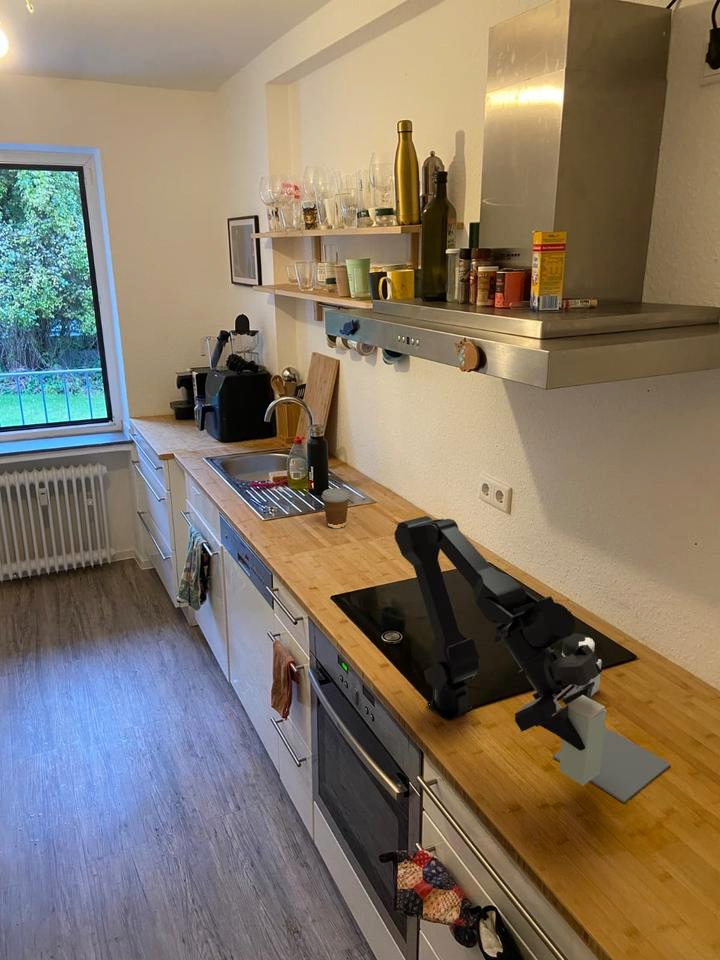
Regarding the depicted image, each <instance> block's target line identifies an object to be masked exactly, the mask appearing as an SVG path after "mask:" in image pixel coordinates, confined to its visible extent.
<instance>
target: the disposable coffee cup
mask: <svg viewBox="0 0 720 960" xmlns="http://www.w3.org/2000/svg"><path fill="white" fill-rule="evenodd" d="M350 498H351V495H350V492H349V490H347V489H345V488H339V487H338V488H337V487H335V488H333V487H332V488H329V489H325V490H324V491H322V494H321V499H322V500H323V501H322V502H323V506H324V513H325V519H326V524H327V523H329V524H333V525H338V524H343V523H345V522H346V523H347V518H348V508H349V507H348V506H349V499H350Z"/></svg>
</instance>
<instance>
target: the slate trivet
mask: <svg viewBox="0 0 720 960" xmlns="http://www.w3.org/2000/svg"><path fill="white" fill-rule="evenodd" d="M552 758H553V759H555V760H556V761H557V762H559V763H560V758H561V750H560V751H558V752H557V753H555V754H554V755H553V756H552ZM669 767H671V763H670V762H668V761H666V760H665V759H663V758H661V757H659V756H657V755H656V754H654V753H652V752H650V751H648V750H647V749H645V748H643V747H641V746H639V744H638V745H637V744H636V743H634V742H633V741H631V740H630V739H627V738H625V737H623V736H622V735H621V734H618V733H617V732H615V731H613V730H611V729H609V728H608V727H605V729H604V738H603V747H602V757H601V766H600V774H599V775H597V776H596V777H594V778H593V779H592V780H590V781H589V782H590V783H592V784H594V785H595V786H597V787H598V788H599V789H601V790H602V791H604V792H605V793H607V794H609V795H611V796H612V797H614V798H615V799H617V800H619V801H620V802H621V803H623V804H626V803H627V801H628V800H630V799H631V798H632V797H634V796H635V795H636V794H637V793H639V792H640V791H641V790H643V788H645V787H646V786H647V785H648V784H650V783H651V782H652V781H654V780H655V779H656V778H657V777H658V776H660V775H661V774H662V773H664V771H666V770H667V769H668V768H669Z"/></svg>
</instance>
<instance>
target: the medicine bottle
mask: <svg viewBox="0 0 720 960" xmlns="http://www.w3.org/2000/svg"><path fill="white" fill-rule="evenodd" d="M580 645H588V646H589V647H590V648H591V650H592V651H593V652H594V653H595V641H594V640H593V638H591V637H590V636H589V635H586V634H582V633H573V634H572V635H571V636H569V637H567V638H565V639H563V640H562V650H561V654H562V655H563V656H564V657H567V656H570V655H571V654H575V649H576V648H578V647H579V646H580ZM598 659H599V658H598ZM602 662H603V661H602V659H601V658H600V659H599V661H598V662H597V665H598V666H599V668H600V669H601V670H602ZM600 680H601V673H600V674H599V675H598V676H596V677H595V678H593V679H591V680H590V682H589V683H592V682H595V685H594V686H593V689H592V693H591V697H593V695H595V694H596V693H597V692H598V691H599V690H600ZM589 683H588V684H589ZM565 697H566V695H565V696H564V697H563V698H565Z"/></svg>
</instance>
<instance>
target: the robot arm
mask: <svg viewBox="0 0 720 960" xmlns="http://www.w3.org/2000/svg"><path fill="white" fill-rule="evenodd" d="M394 539H395V543H396V545H397V546H398V549H399V552H400V554H401V556H402V557H403V558H404V559H406V561H408V563H410V565H411V566H412V567H413V568H414V573H415V575H416V579H417V581H418V585H419V590H420V593H421V595H422V599H423V603H424V605H425V609H426V612H427V616H428V618H429V622H430V626H431V628H432V631H433V635H434V641H433V646H432V651H431V658H432V664H433V665H431V666H430V667H428V668H427V669H425V670H424V671H423V674H424V679H425V682H426V683H427V684H428V685H430V686H431V687H432V700H430V701H428V702H427V703H426V706H427V705H428V706H429V707H430V708H429V707H428V706H427V707H428V708H429V709H431V710H432V709H433V710H435V711H436V712H437V714H438V713H439V714H441V715H442V716H443V717H442V716H441V715H440V716H441V717H442V718H444V719H445V720H446V721H452V720H454V719H456V718H458V717H459V716H461V715H463V714H464V713H467V712H469V711H471V710H472V708H473V706H472V704H470V703H468V698H469V697H468V695H469V692H468V691H467V690H468V689H467V688H468V686H467V685H468V683H466V682H467V681H470V680H473V679H475V676H476V675H477V674H478V672H479V669H480V667H481V664H480V659H481V657H480V655H479V653H478V651H477V647H476V641H475V640H474V639H473V638H472V637H471V638H467V636H466V635H465V634H463V633H462V631H461V630H460V628H459V625H458V621H457V620H458V619H457V618H456V614H455V610H454V607H453V604H452V601H451V598H450V594H449V590H448V589H447V585H446V582H445V577H444V575H443V571H442V569H441V565H440V562H439V556H440V555H439V554H440V551H441V552H442V553H443V555H444V556H445V557H446V558H447V559H448V561H450V563H451V564H452V565H453V566H454V568H455V569H456V570H457V571H458V572H459V574H461V576H462V577H463V578H464V579H465V580H466V582H467V583H468V584H469V585H470V586H471V588H472V590H473V595H474V601H475V604H476V606H477V607H478V608H479V610H480V611H481V613H482V614H483V616H484V618H485V619H486V620H487V621H488V622H490V623H491V624H498V625H497V626H496V627H495V635H494V640H493V641H494V643H495V644H499V643H500V642H502V641H503V642H504V644H505V646H506V648H507V649H508V650H509V652H510V653H511V655H512V657H513V658H514V660H515V661H516V663H517V664H518V666H519V667H520V670H519V671H518V672H517V674H518V675H519V677H520V678H521V679H523V678H524V677H526V678H527V679H528V681H529V683H530V684H531V685H532V687H533V689H534V690H535V692H534V693H533V694H532V697H533V698H534V700H533V701H530V702H528V703H526V704H524V706H522V707H521V708H519V710H518V711H516V712H515V713H514V722H515V724H516V725H517V727H518V728H519V730H520V732H524V731H527V730H529V729H532V728H533V727H542V728H543V729H545V730H547V731H549V732H551V733H552V734H554V735H556V736H557V737H558V738H560V739H561V740H562V739H563V740H565V741H566V742H568V743H569V744H571V745H572V746H574V747H575V748H576V749H578V750H580V751H581V750H584V749H585V746H584V744H583V742H582V740H581V738H580V736H579V734H578V733H577V731H576V729H575V728H574V726H573V724H572V723H571V721H570V719H569V717H568V705H567V704H568V703H570V702H572V701H573V700H575V699H577V698H578V697H580V696H582V695H584V696H586V697H588V698H590V699H591V700H592V696H591V693H592V689H593V686H594V685H595V682H592V683H589V682H590V680H591V679H593V678H595V677H596V676H598V675H599V674H600V675H601V673H602V672H603V670H602V668H601V669H600V668H599V666H598V665H597V662H598V661H599V658H598V657H597V656H596V653H595V651H594V652H593V651H592V650H591V648H590V647H589V646H588V645H580V646H579V647H578V648H576V649H575V654H571V655H570V656H567V657H564V656H563V655H562V652H561V651H560V650H558V649H557V648H555V649H553V650H552V649H551V648H550V647H552V646H554V645H555V644H558V643H559V642H561V641H563V639H565V638H567V637H569V636H571V635H572V634H574V632H575V629H576V620H575V618H574V616H573V614H572V612H571V611H570V610H569V609H568V608H567V607H566V606H565V605H563V604H561V603H559V602H555V601H554V598H553V597H552V596H551V595H549V596H546V597H543V598H541V599H537V598H536V597H535V596H533V595H532V594H530V592H528V591H527V590H525V589H524V587H523V586H522V585H521V584H519V582H517V581H516V580H515V579H514V578H512V576H510V575H508V574H505V573H504V572H503V573H502V572H500V571H498V570H496V569H495V568H494V567H493V566H492V565H491V564H490V563H489V562H488V561H487V559H486V558H485V557H484V556H483V555H482V554H481V552H480V551H478V550H477V548H476V547H475V546H474V545H473V544H472V543H471V542H470V541H469V538H467V537H466V536H465V535H464V534H463V532H462V531H461V530H460V529H459V526H458V523H457V522H456V520H454V519H452V518H451V519H450V518H446V519H445V518H440V519H433V518H431V517H430V516H428V515H425V516H420V517H416V518H412V519H408V520H404V521H400V522H399V523H397V526H396V529H395V530H394ZM499 624H500V625H499ZM588 683H589V684H588ZM565 695H566V697H564V696H565ZM560 700H561V701H562V702H563V704H564V705H565V706H563V707H562V706H561V704H560V702H559V701H560ZM429 704H430V705H429ZM433 710H432V711H433ZM435 711H434V712H435ZM436 712H435V713H436ZM439 714H438V715H439Z"/></svg>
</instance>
